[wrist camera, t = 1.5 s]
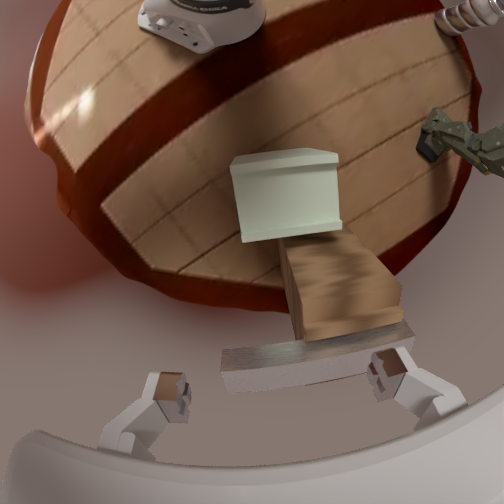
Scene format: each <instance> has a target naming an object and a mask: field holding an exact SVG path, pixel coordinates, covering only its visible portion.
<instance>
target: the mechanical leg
mask: <svg viewBox="0 0 504 504" xmlns="http://www.w3.org/2000/svg"><path fill="white" fill-rule="evenodd" d="M421 128H422V130H423V131H422V132H421V135H420V138H419V141H418V144H417V146H416V150H417V151H418V152H419V153H421V154H422V155H423V156H424V157H425V158H426V159H427V160H428V161H429V162H430V163H433V162H435V161H436V160H437V159H438V157H439V156H440V155H441V153H442V152H443V151H444V150H446V151H449V150H451V149H452V150H453V151H454V152H455V153H456V154H458V155H459V156H461V157H462V158H464V159H465V160H467V161H468V162H469V163H471V164H472V165H473V166H475V167H476V168H477V169H478V170H479V171H480V172H481V173H483V174H484V175H489V174H490V172H491V173H494V174H496V175H498V176H501V177H503V178H504V124H502V125H500V126H498V127H495V128H493V129H491V130H489V131H487V132H486V133H485V134H483V133H479V134H475V133H474V132H472V131H471V130H472V126H471V122H467V123H466V122H453V121H452V120H451V119H450V118H449V117H448V116H447V115H446V114H445V113H444V112H443V111H442V110H441V109H440V108H439V107H437V108H433V110H432V112H431V114H430V117H429V118H428V119H427V121H426V124H423V125H422V127H421ZM482 163H483V164H484V165H485V166H487V168H488V170H487V169H486V168H485V167H484V165H483V164H482Z"/></svg>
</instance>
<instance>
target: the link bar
mask: <svg viewBox="0 0 504 504" xmlns="http://www.w3.org/2000/svg"><path fill="white" fill-rule="evenodd" d="M415 337H416V335H415V334H414V333H413V331H412V330H411V328H410V327H409V325H408V324H407V322H406V321H405V320H404V319H402V321H401V322H397V323H393V324H389V325H385V326H381V327H377V328H373V329H369V330H364V331H360V332H355V333H350V334H346V335H341V336H336V337H330V338H325V339H320V340H314V341H308V342H306V340H305V339H303V340H297V341H290V342H284V343H277V344H270V345H262V346H252V347H243V348H234V349H222V357H221V368H220V373H221V376H222V378H223V381H224V384H225V387H226V389H227V392H228V393H242V392H253V391H263V390H272V389H280V388H287V387H294V386H300V385H307V384H312V383H318V382H323V381H328V380H333V379H338V378H343V377H347V376H352V375H356V374H360V373H364V372H367V369H368V365H369V364H370V363H371V362H372V361H371V359H370V358H371V354H372V353H373V352H376V351H380V350H384V349H388V348H393V347H397V346H401V345H403V346H404V347H405V348H406V350H407V352H408V353H409V355H410V353H411V350H412V347H413V344H414V340H415Z"/></svg>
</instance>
